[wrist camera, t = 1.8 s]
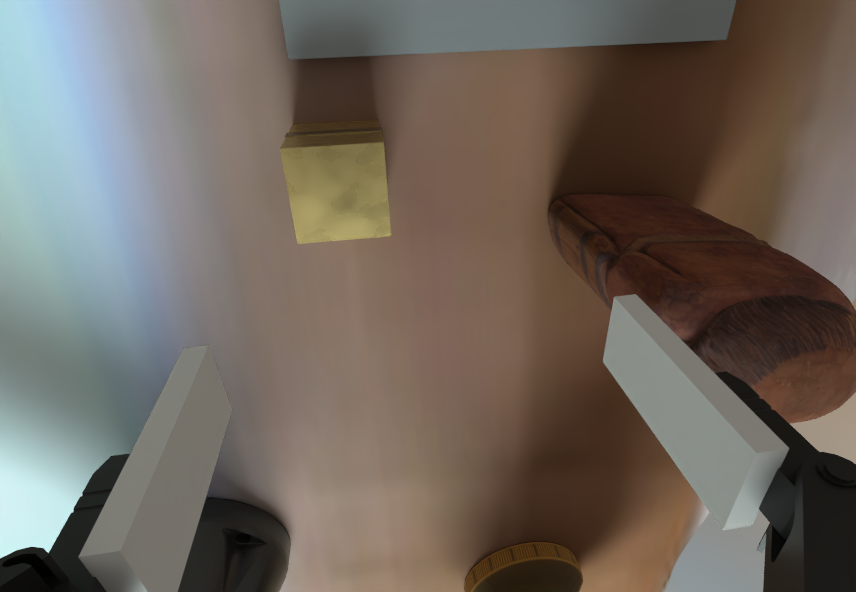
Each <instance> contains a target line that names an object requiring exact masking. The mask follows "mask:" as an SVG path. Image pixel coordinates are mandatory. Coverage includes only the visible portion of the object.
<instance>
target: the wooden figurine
mask: <svg viewBox="0 0 856 592" xmlns="http://www.w3.org/2000/svg"><path fill="white" fill-rule="evenodd" d="M548 219H549V226H550V231H551V235H552V239H553V242H554V244H555V246H556V248H557V250H558V251H559V253H560V254H561V255H562V257H563V258H564V259H565V261H566V262H567V264H568V265H569V266H570V267H571V268H572V269H573V270H574V271H575V272H576V273H577V274H578V275H579V276H580V278H581V279H582V280H584V281H585V282H586V283H587V285H588V286H589V287H590V288H592V290H593V291H594V292H595V293H596V294H597V295H598V296H599V297H600V298H601V300H602V301H603V302H604V303H605V304H606V306H607V307H608V308H609V309H610V310H611V311H612V305H613V299H614V297H616V296H625V295H633V294H636V295H637V296H638V297H639V298H640V299H641V300H642V301H643V302H644V303H645V304H646V305H647V306H648V307H649V308H650V309H651V310H652V311H653V312H654V313H655V314H656V315H657V316H658V317H659V318H660V319H661V320H662V321H663V322H664V323H665V324H666V325H667V326H668V327H669V328H670V329H671V330H672V331H673V332H674V333H675V334H676V335H677V336H678V337H679V338H680V339H681V340H682V341H683V342H684V343H685V344H686V345H687V346H688V347H689V348H690V349H691V350H692V351H693V352H694V353H695V354H696V355H697V356H698V357H699V358H700V359H701V360H702V361H703V362H704V363H705V364H706V365H707V366H708V367H709V368H710V369H711V370H712V371H713V372H714V373H717V372H724V371H727V372H728V373H730V374H732V375H734V376H735V377H737V378H739V379H741V380H742V381H744V382H746V383H747V384H748V385H749V386H750V387H751V388H752V389H753V390H754V391H755V392H756V393H757V394H758V395H759V396H760V398H761V399H764V400H765V401H766V402H767V403H768V404H769V405H770V406H771V408H772V410H775V411H776V412H777V413H778V414H779V415H781V416H782V417H783V418H784V419H785V420H786V421H787V422H788V423H796V422H803V421H808V420H812V419H816V418H818V417H821V416H823V415H826V414H828V413H830V412H832V411H834V410H836V409H837V408H839V407H840V406H841V405H843V404H844V403H845V402H846V401H847V400H848V399H849V398H850V397H851V396H852V395H853V394H854V393H855V392H856V310H855V309H854V307H853V305H852V304H851V302H850V301H849V299H848V298H847V297H846V296H845V295H844V293H843V292H842V291H841V290H840V289H839V288H838V287H837V286H836V285H834V284H833V283H832V282H831V281H829V280H828V279H826V278H825V277H823V276H822V275H820V274H819V273H818V272H816V271H815V270H813V269H812V268H810V267H809V266H807V265H805V264H804V263H802V262H801V261H799V260H797V259H795V258H794V257H792V256H790V255H788V254H786V253H784V252H781V251H779V250H777V249H775V248H772V247H771V246H770V245H768V243H767V242H765V241H762V240H758V239H756V238H755V237H754V236H753V235H752V234H750V233H748V232H746V231H744V230H742V229H740V228H737V227H735V226H732V225H730V224H727V223H725V222H723V221H721V220H719V219H717V218H715V217H714V216H712V215H710V214H708V213H705V212H703V211H701V210H699V209H696V208H694V207H691V206H689V205H686V204H684V203H682V202H679V201H677V200H675V199H673V198H670V197H666V196H660V195H608V194H572V195H565V196H563V197H561V198H559V199H558V200H556V201H555V202H553V204H552V205H551V207H550V209H549V213H548Z"/></svg>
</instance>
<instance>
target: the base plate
mask: <svg viewBox="0 0 856 592" xmlns="http://www.w3.org/2000/svg"><path fill="white" fill-rule="evenodd" d="M736 1H737V0H279V5H280V11H281V17H282V24H283V30H284V36H285V42H286V48H287V54H288V60H291V59H313V58H335V57H357V56H379V55H401V54H424V53H446V52H468V51H490V50H512V49H535V48H557V47H579V46H601V45H623V44H646V43H668V42H690V41H712V40H727V36H728V32H729V28H730V24H731V20H732V16H733V13H734V9H735V5H736Z"/></svg>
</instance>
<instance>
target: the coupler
mask: <svg viewBox="0 0 856 592" xmlns="http://www.w3.org/2000/svg"><path fill="white" fill-rule="evenodd" d="M280 151H281V157H282V162H283V168H284V173H285V178H286V184H287V189H288V195H289V200H290V205H291V211H292V216H293V222H294V227H295V232H296V238H297V243H298V244H301V243H313V242H326V241H338V240H350V239H362V238H374V237H386V236H391V230H390V217H389V204H388V190H387V177H386V164H385V150H384V141H383V137H382V129H381V127H380V125H379V121H378V120H360V121H343V122H326V123H308V124H293V125H292V127H291V129H290V131H289V133H286V135H285V140H284V142H283V144H282V146H281V148H280Z"/></svg>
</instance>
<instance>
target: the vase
mask: <svg viewBox="0 0 856 592" xmlns="http://www.w3.org/2000/svg"><path fill="white" fill-rule="evenodd" d="M582 583H583V576H582V572H581V569H580V567H579V565H578V562H577V560H576V558H575V556H574V555H573V553H572V552H571V551H570V550H568V549H567V548H565V547H564V546H561V545H557V544H554V543H547V542H532V543H522V544H518V545H515V546H511V547H507V548H504V549H502V550H500V551H497V552H495V553H493V554H491V555H489V556H488V557H486V558H485V559H483V560H482V561H480V562H479V563H478V564H477V565H476V566H475V567H474V568H473V569H472V570H471V571H470V573H469V574H468V576H467V578H466V579H465V585H464V590H465V592H579V591H580V588H581V586H582Z"/></svg>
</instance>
